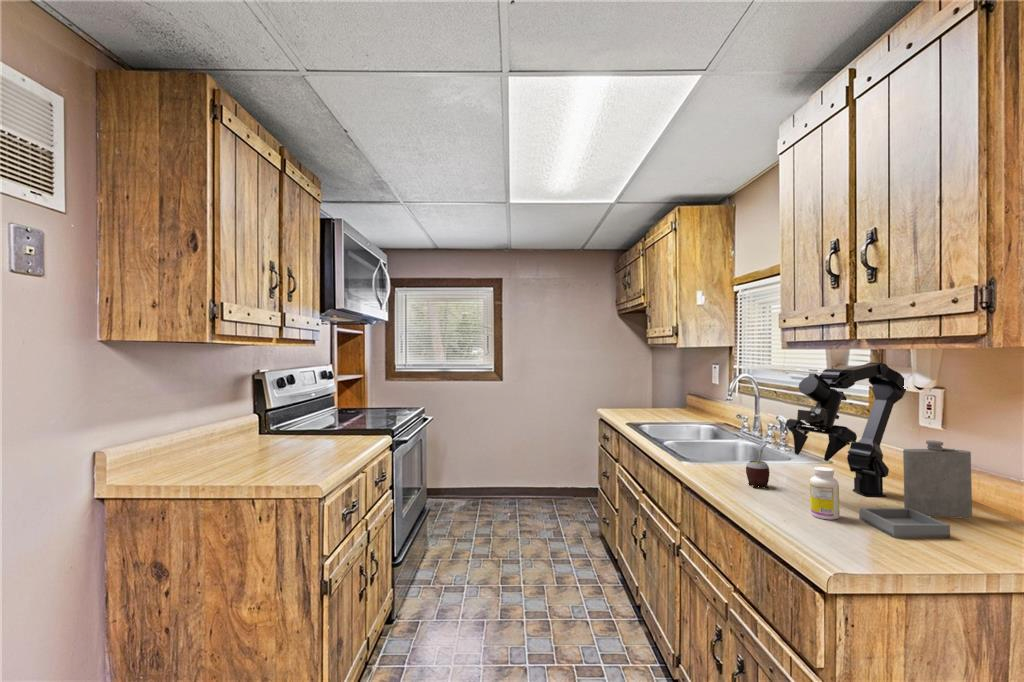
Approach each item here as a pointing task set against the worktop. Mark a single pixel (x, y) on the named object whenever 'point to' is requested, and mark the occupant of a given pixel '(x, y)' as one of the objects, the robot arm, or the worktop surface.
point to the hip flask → (938, 481)
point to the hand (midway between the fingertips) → (810, 457)
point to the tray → (904, 523)
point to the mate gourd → (758, 472)
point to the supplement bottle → (824, 494)
